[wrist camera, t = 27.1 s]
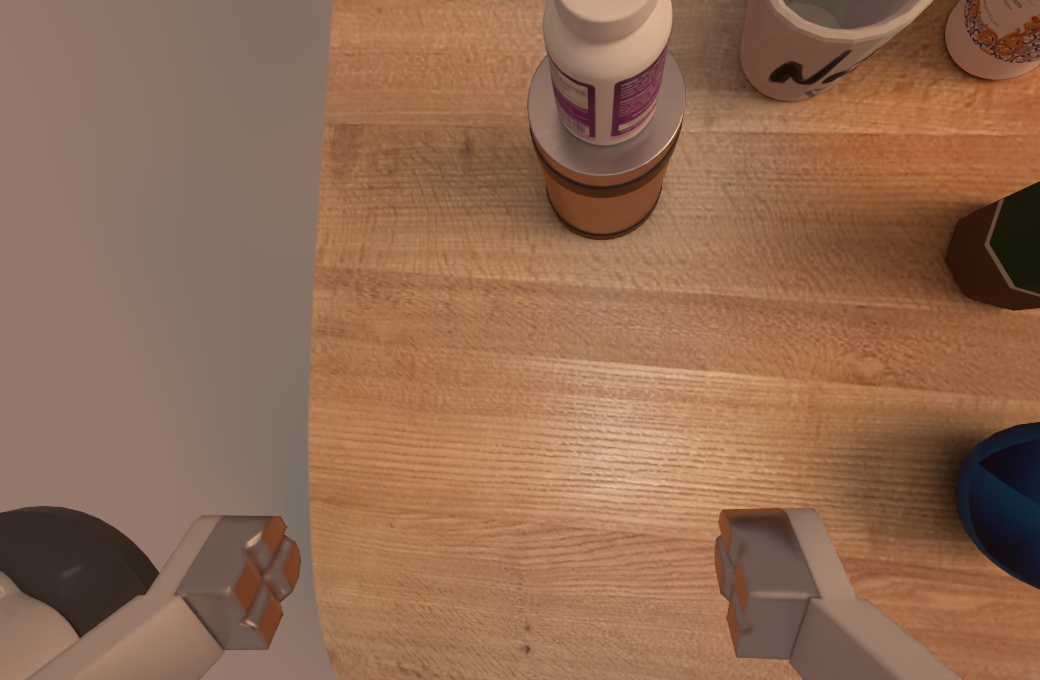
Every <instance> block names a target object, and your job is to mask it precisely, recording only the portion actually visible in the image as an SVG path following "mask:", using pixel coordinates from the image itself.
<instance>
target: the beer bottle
mask: <svg viewBox="0 0 1040 680" xmlns="http://www.w3.org/2000/svg"><path fill="white" fill-rule="evenodd" d="M945 261H946V262H947V264H948V266H949V267H950V269H951V271H952V273H953V274H954V276H955V278H956V279H957V281H958V283H959V285H960V286H961V288H962V290H963V291H964V293H965V295H966V296H967V297H970V298H973V299H976V300H980V301H983V302H986V303H990V304H993V305H996V306H1000V307H1003V308H1006V309H1009V310H1013V311H1015V310H1025V309H1035V308H1040V181H1039V182H1037V183H1035V184H1033V185H1031V186H1029V187H1026V188H1024V189H1022V190H1020V191H1018V192H1016V193H1013V194H1011V195H1009V196H1007V197H1005V198H1003V199H1001V200H998V201H996V202H994V203H992V204H990V205H988V206H986V207H983V208H981V209H979V210H977V211H975V212H973V213H971V214H969V215H968V216H966V217H964V218H962V219H960V220H959V222H958V225H957V228H956V231H955V234H954V237H953V240H952V243H951V246H950V249H949V252H948V255H947V258H946V260H945Z"/></svg>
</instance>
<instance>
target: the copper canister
mask: <svg viewBox="0 0 1040 680" xmlns="http://www.w3.org/2000/svg"><path fill="white" fill-rule="evenodd" d="M685 104H686V90H685V82H684V79H683V75H682V72H681V70H680V67H679V65H678V63H677V62H676V60H675V58H674V57H673V55H672V54H671V53H670V52H669V50H667V55H666V60H665V65H664V71H663V76H662V82H661V87H660V92H659V96H658V101H657V105H656V108H655V111H654V113H653V115H652V117H651V119H650V120H649V122H648V123H647V125H646V126H645V127H644V128H643V129H642V130H641V131H640V132H639V133H638V134H637V135H635V136H634V137H632V138H630V139H628V140H626V141H623V142H621V143H618V144H614V145H594V144H591V143H588V142H585V141H583V140H581V139H579V138H578V137H576V136H574V135H573V134H572V133H571V132H570V131H569V130H568V129H567V128H566V127H565V126H564V124H563V122H562V120H561V118H560V116H559V114H558V111H557V107H556V102H555V97H554V91H553V86H552V80H551V74H550V68H549V62H548V56H547V55H546V57H545V58H544V59H543V60H542V62H541V63H540V65H539V67H538V68H537V70H536V72H535V74H534V76H533V79H532V81H531V85H530V88H529V93H528V101H527V110H528V119H529V125H530V133H531V137H532V141H533V145H534V149H535V152H536V154H537V157H538V160H539V161H540V164H541V168H542V172H543V176H544V179H545V183H546V191H547V195H548V199H549V203H550V205H551V208H552V210H553V212H554V214H555V215H556V217H557V218H558V219H559V221H560V222H561V223H562V224H563V225H564V226H565V227H567V228H568V229H569V230H570V231H572V232H574V233H576V234H578V235H580V236H583V237H586V238H590V239H596V240H608V239H614V238H618V237H622V236H624V235H627V234H629V233H630V232H632V231H634V230H636V229H637V228H638V227H640V226H641V225H642V224H643V223H644V222H645V221H646V220H647V219H648V218H649V216H650V215H651V214H652V212H653V210H654V209H655V207H656V205H657V202H658V200H659V196H660V193H661V190H662V183H663V179H664V176H665V173H666V170H667V166H668V163H669V160H670V158H671V156H672V154H673V152H674V149H675V147H676V144H677V141H678V137H679V134H680V131H681V127H682V121H683V115H684V111H685Z"/></svg>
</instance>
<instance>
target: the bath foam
mask: <svg viewBox="0 0 1040 680" xmlns="http://www.w3.org/2000/svg"><path fill="white" fill-rule="evenodd" d="M945 41H946V46H947V49H948V51H949V53H950V55H951V57H952V58H953V60H954V61H955V62H956V63H957V64H958V65H959V66H960V67H961V68H962V69H963V70H965V71H967V72H968V73H970V74H972V75H975V76H977V77H981V78H985V79H993V80H1001V79H1008V78H1013V77H1016V76H1019V75H1021V74H1024V73H1026V72H1028V71H1030V70H1032V69H1034V68H1035V67H1037V66H1038V65H1040V0H960V1H959V2H958V4H957V5H956V6H955V7H954V9H953V10H952V12H951V14H950V16H949V18H948V21H947V24H946V29H945Z"/></svg>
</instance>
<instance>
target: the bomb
mask: <svg viewBox="0 0 1040 680" xmlns="http://www.w3.org/2000/svg"><path fill="white" fill-rule="evenodd" d="M955 496H956V506H957V512H958V515H959V517H960V519H961V522H962V524H963V527H964V529H965V531H966V532H967V534H968V535H969V537H970V538H971V539H972V541H973V542H974V543H975V545H976V546H977V547H978V549H979V550H980V551H981V552H982V553H983V554H984V555H985V556H986V557H988V558H989V559H990V560H991V561H992V562H993V563H994V564H996V565H997V566H998V567H999V568H1001V569H1002V570H1004V571H1005V572H1007V573H1008V574H1010V575H1011V576H1013V577H1015V578H1017V579H1019V580H1021V581H1023V582H1025V583H1027V584H1029V585H1031V586H1033V587H1036V588H1038V589H1040V422H1036V423H1028V424H1021V425H1016V426H1013V427H1011V428H1008V429H1005V430H1002V431H999V432H997V433H994V434H993V435H991V436H990V437H988V438H987V439H985V440H984V441H982V442H981V443H979V444H978V445H977V446H976V447H975V448H974V449H973V451H972V452H971V453H970V454H969V455H968V456H967V458H966V459H965V460H964V461H963V464H962V466H961V468H960V470H959V473H958V476H957V480H956V486H955Z"/></svg>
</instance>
